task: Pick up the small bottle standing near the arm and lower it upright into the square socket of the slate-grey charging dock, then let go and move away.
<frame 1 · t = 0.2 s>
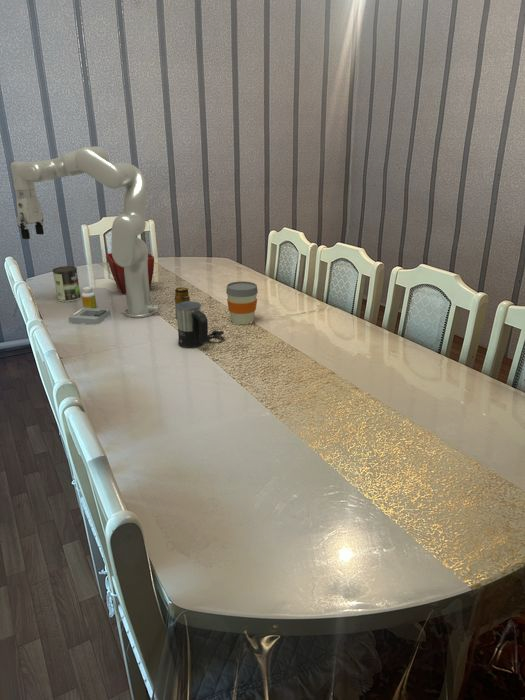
hand: (33, 236, 216), 31 cm above the table, tool pointing down, fingers open, 9 cm apart
condiment: (184, 317, 216), on the table
milk frother: (201, 342, 192), on the table
coffee can: (69, 299, 238), on the table
plant pot: (133, 290, 251), on the table
supplement bottle: (90, 309, 225), on the table
reusable coffee cup: (242, 321, 211), on the table
dock: (90, 319, 214), on the table
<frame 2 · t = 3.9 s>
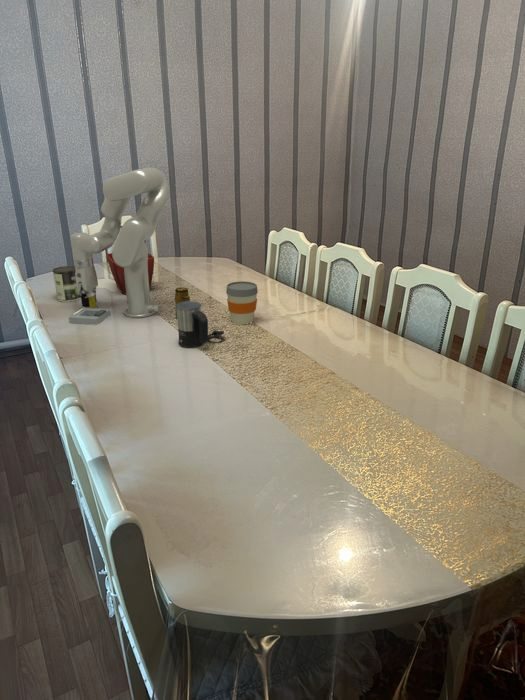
hand: (89, 303, 224), 2 cm above the table, tool pointing down, fingers closed on supplement bottle, 5 cm apart
supplement bottle: (90, 309, 225), on the table, touching gripper
everything else where it was.
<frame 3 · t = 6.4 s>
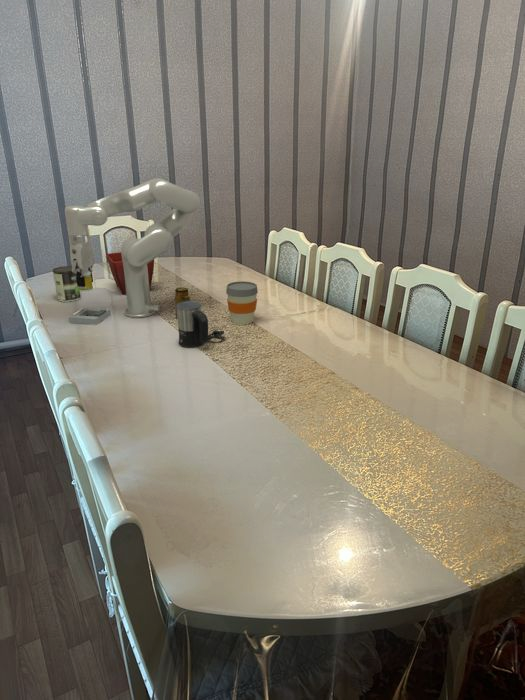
hand: (85, 283, 208), 15 cm above the table, tool pointing down, fingers closed on supplement bottle, 5 cm apart
supplement bottle: (86, 290, 209), point 12 cm above the table, touching gripper
everything else where it was.
when the fingers open (4 cm above the table, at t = 9.1 s): supplement bottle drops 1 cm, resting in dock.
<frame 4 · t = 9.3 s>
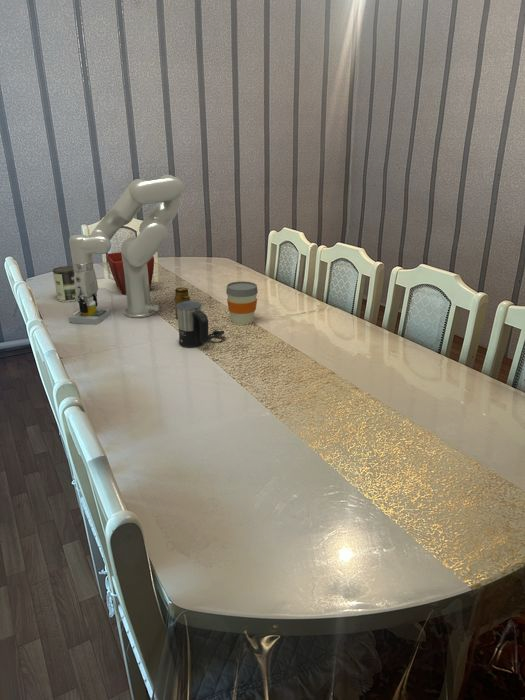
hand: (89, 309, 212), 4 cm above the table, tool pointing down, fingers open, 7 cm apart
supplement bottle: (90, 319, 214), resting in dock
everything else where it was.
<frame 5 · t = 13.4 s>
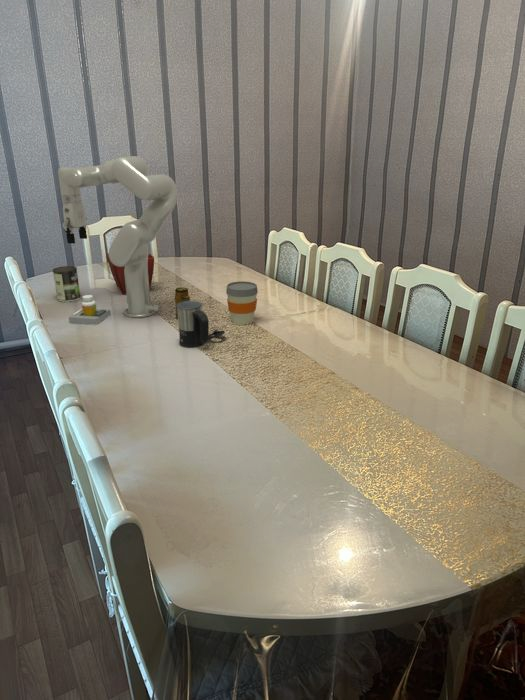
hand: (77, 240, 219), 28 cm above the table, tool pointing down, fingers open, 9 cm apart
nothing on the table moved.
at the end: supplement bottle 0.2 cm off-centre in the dock, point 0.0 cm above the dock's base; supplement bottle tilted 0°; the gripper is holding nothing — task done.
